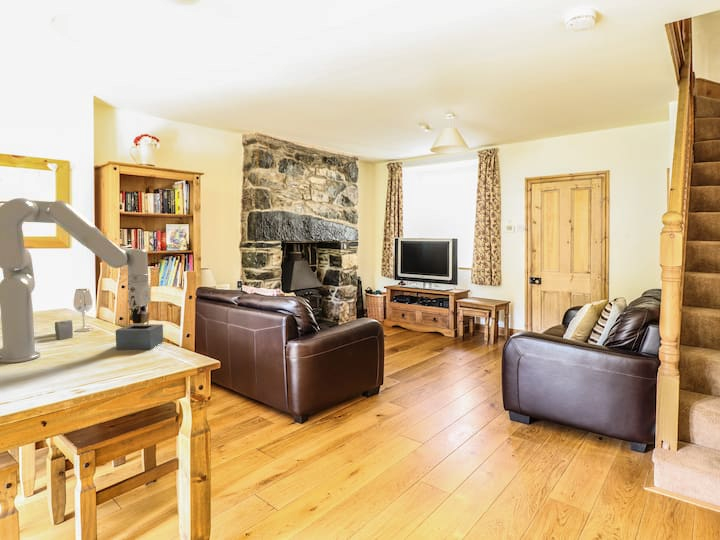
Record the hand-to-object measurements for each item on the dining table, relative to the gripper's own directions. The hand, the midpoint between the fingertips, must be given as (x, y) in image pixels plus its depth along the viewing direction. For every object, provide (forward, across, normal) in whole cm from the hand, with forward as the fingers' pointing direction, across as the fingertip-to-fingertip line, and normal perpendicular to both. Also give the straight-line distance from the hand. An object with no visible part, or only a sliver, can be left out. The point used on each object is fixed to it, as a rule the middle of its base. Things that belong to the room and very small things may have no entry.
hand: (139, 321), depth 189 cm
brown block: (-1, 0, 0) cm, 1 cm away
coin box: (+10, 0, 0) cm, 10 cm away
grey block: (+11, +14, +42) cm, 45 cm away
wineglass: (+11, +30, +42) cm, 53 cm away
